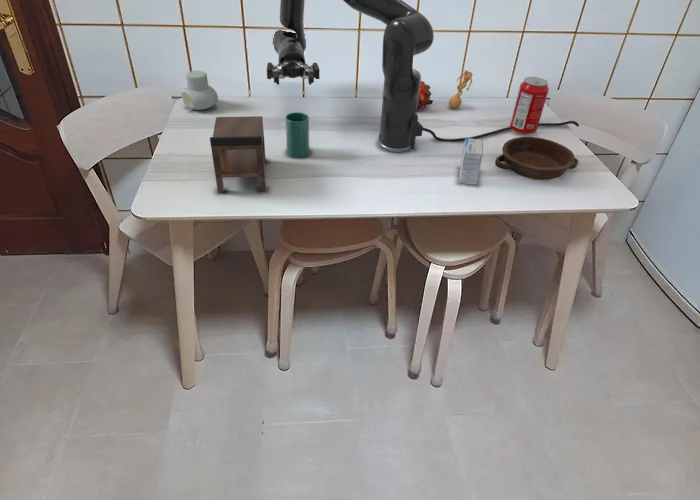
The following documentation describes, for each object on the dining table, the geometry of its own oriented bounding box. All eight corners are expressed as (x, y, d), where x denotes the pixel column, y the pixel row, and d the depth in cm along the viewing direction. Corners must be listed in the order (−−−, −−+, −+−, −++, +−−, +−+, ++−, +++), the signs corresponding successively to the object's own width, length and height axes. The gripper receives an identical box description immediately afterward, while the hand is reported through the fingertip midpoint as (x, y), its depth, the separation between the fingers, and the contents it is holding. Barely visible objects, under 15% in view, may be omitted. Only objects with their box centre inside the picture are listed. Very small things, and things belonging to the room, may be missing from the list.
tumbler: (308, 147, 135) (307, 112, 129) (309, 157, 131) (309, 121, 125) (286, 147, 135) (285, 112, 128) (287, 158, 130) (285, 122, 124)
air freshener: (180, 103, 154) (174, 71, 148) (204, 97, 158) (199, 65, 152) (197, 115, 148) (192, 82, 142) (222, 108, 152) (218, 76, 146)
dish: (482, 153, 137) (486, 136, 134) (558, 151, 139) (564, 135, 136) (505, 187, 123) (510, 169, 120) (589, 184, 126) (596, 167, 123)
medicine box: (476, 185, 123) (483, 154, 118) (458, 183, 124) (464, 151, 118) (476, 170, 129) (483, 139, 124) (459, 167, 130) (465, 137, 125)
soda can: (508, 134, 147) (522, 83, 137) (508, 123, 153) (521, 74, 143) (536, 138, 145) (551, 87, 136) (535, 126, 151) (549, 77, 142)
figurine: (443, 103, 163) (449, 65, 155) (460, 102, 164) (467, 65, 156) (453, 113, 156) (460, 75, 149) (471, 112, 158) (478, 74, 150)
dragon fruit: (415, 103, 166) (419, 123, 157) (396, 88, 161) (400, 109, 153) (433, 84, 161) (439, 104, 153) (414, 69, 157) (419, 89, 149)
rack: (265, 160, 129) (261, 109, 120) (265, 191, 118) (261, 137, 109) (222, 161, 128) (215, 109, 119) (217, 193, 116) (209, 138, 108)
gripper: (265, 46, 141) (266, 66, 129) (316, 46, 143) (321, 66, 131) (267, 72, 146) (267, 95, 133) (316, 72, 148) (321, 94, 135)
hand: (294, 81), depth 132 cm, fingers open, 8 cm apart
